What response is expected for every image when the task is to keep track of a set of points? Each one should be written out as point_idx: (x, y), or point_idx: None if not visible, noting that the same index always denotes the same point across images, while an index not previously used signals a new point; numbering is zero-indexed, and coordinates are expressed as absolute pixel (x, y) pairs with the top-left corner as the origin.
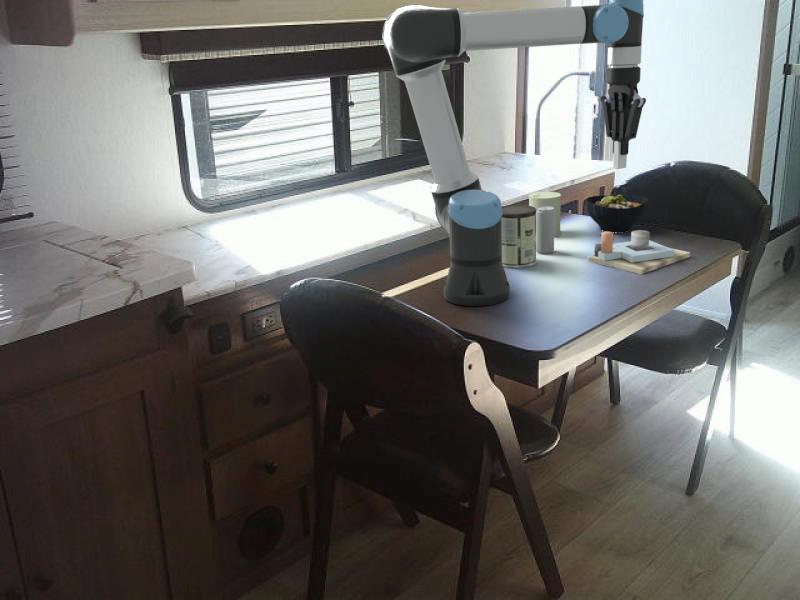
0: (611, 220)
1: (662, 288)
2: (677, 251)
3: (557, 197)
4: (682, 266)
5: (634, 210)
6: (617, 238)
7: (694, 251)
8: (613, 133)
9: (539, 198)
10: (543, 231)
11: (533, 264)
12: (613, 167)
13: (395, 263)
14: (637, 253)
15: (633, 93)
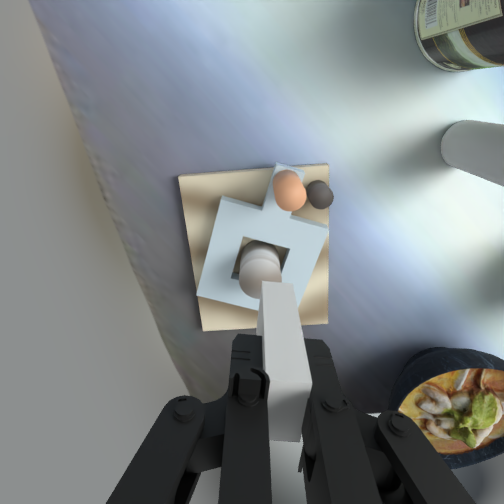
0: (427, 356)
1: (80, 130)
2: (222, 320)
3: None
4: (169, 272)
5: (394, 401)
6: (390, 329)
7: (223, 355)
8: (341, 436)
9: None
10: (487, 130)
11: (414, 29)
12: (291, 285)
13: None
14: (229, 225)
15: None
